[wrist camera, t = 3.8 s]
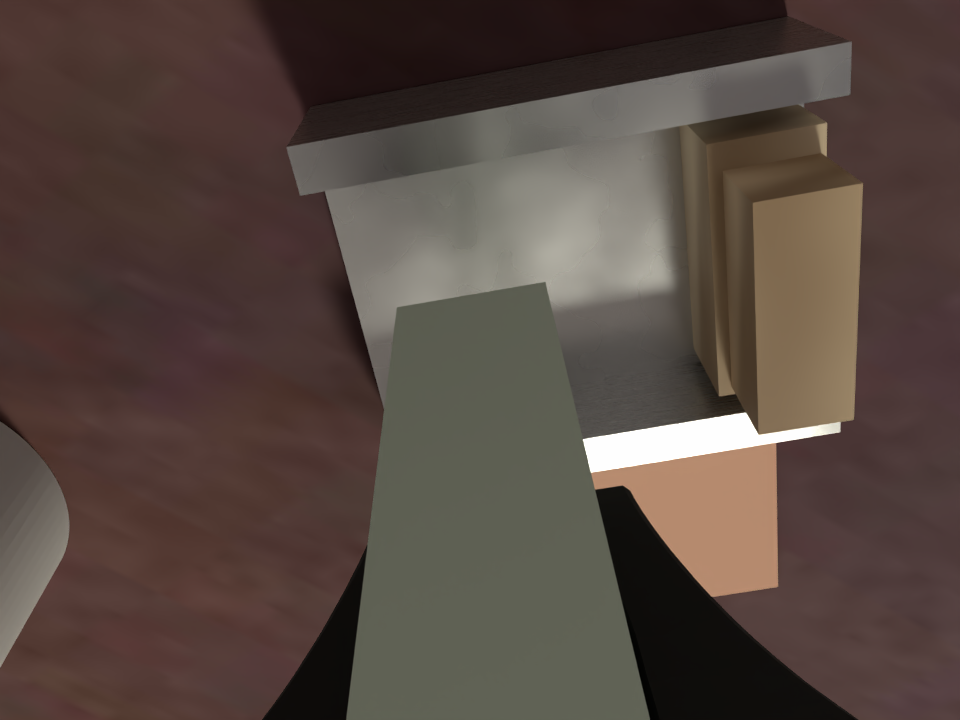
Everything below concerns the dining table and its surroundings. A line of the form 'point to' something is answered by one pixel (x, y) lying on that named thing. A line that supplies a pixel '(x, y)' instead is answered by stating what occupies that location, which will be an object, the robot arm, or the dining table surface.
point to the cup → (26, 532)
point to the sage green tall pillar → (487, 531)
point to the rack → (563, 212)
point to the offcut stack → (773, 265)
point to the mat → (712, 513)
